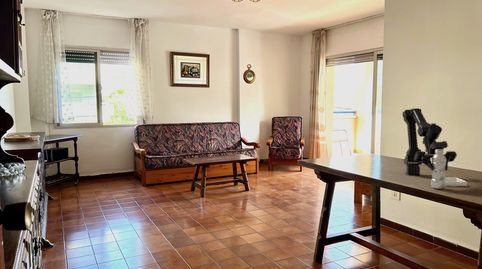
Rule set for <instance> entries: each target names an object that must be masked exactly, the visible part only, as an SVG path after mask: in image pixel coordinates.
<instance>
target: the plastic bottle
mask: <svg viewBox="0 0 482 269" xmlns="http://www.w3.org/2000/svg"><path fill="white" fill-rule="evenodd" d="M443 154H445V152H444V149H435V155H434V156H433V157H432V158H431V163H432V165H433V168H434V170H433V171H432V174H431V175H432V176H431V180H430V186H431V187H432V189H437V190H442V189H445V188H446V186H445V185H446V182H445V177H446V173H445V172H446V170H445V166H446V158H445V156H444V155H443Z"/></svg>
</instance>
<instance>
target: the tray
mask: <svg viewBox="0 0 482 269" xmlns="http://www.w3.org/2000/svg"><path fill="white" fill-rule="evenodd" d="M445 182H446V185H445V187H457V186H458V187H459V186H466V188H467V187H468V182H467V181H466V180H464V179H461V178H459V177H449V176H448V177H446V176H445Z"/></svg>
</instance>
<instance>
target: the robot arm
mask: <svg viewBox="0 0 482 269" xmlns="http://www.w3.org/2000/svg"><path fill="white" fill-rule="evenodd" d="M401 115H402V118H403V121H404V123H406V126H407V140H408V142H407V143H408V149H407V151H406V154H405V157H404V159H403V164H405V165H406V166H405V168H406V170H405V174H406V175H407V176H421V165H422V164H424V165H425V166H426V167H427V168H429V170H431V171H432V172H433V170H434V168H433V165H432V157H433V156H434V155H435V149H443V150H444V149H446V148H448V147H449V146H448V145H449V144H448V142H447V141H446V140H443V141H437V139H439V137H440V135H441V133H442V131H443V129H442V127H441V126H440V125H438V124H436V123H429V122H427V120H426V118H425V116H424V115H423V113H422V108H420V107H419V108H417V107H416V108H410V109H404V111H402V114H401ZM417 134H418V135H417ZM418 136H419V137H421V138H422V145H424V148H425V149H424V150H423V151H422V149H420V148H419V147H418ZM443 155H444V156H445V158H446V166H445V172H446V171H448V167H449V163H452V162H454V161H455V160H456V157H457V156H458V154H457V152H456V151H454V150H453V151H452V150H451V151H450V150H448V151H446V152H445V153H443Z"/></svg>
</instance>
